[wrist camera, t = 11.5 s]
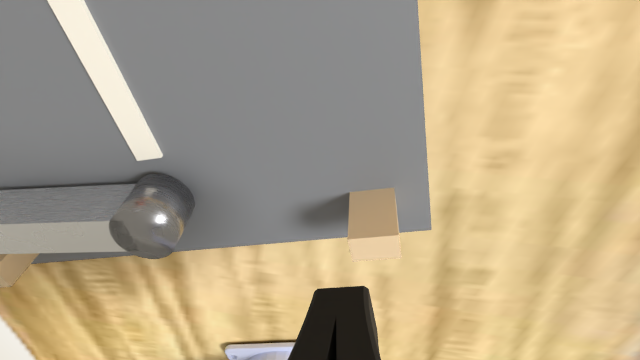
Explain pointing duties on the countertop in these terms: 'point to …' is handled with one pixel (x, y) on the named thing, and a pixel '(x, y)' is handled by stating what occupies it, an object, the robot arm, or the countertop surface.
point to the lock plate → (223, 114)
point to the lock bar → (97, 218)
